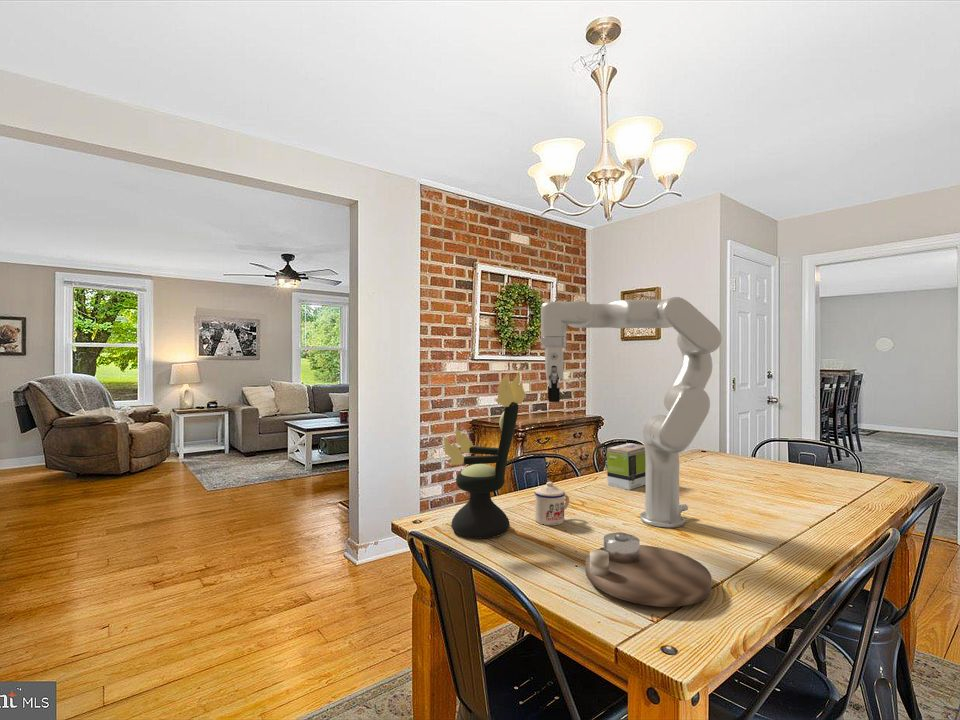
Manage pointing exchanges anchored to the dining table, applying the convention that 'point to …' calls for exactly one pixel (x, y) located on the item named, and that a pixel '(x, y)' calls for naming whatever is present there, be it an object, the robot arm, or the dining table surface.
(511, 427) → the toy pedestal armchair
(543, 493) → the teacup with lid
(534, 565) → the dining table surface
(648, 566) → the turntable
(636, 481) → the tea box
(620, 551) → the cap
